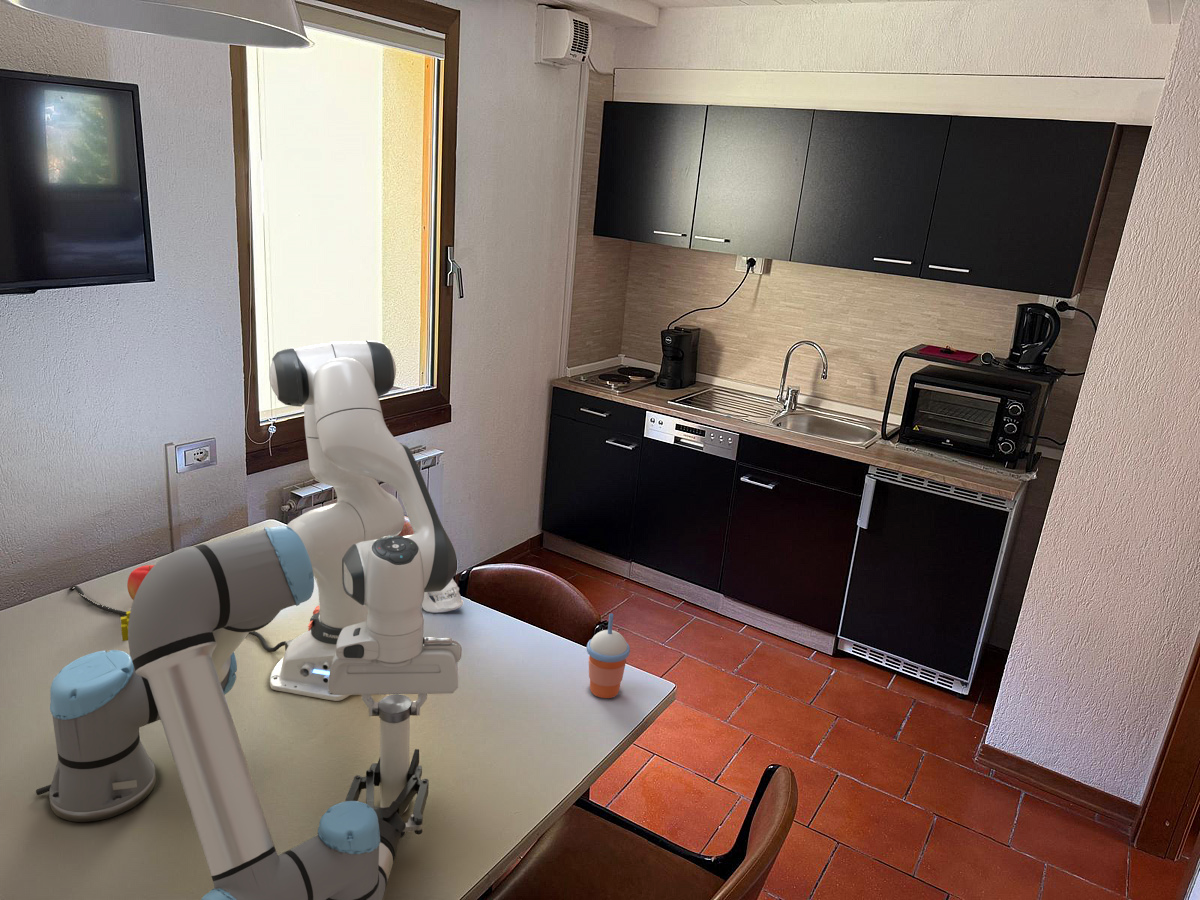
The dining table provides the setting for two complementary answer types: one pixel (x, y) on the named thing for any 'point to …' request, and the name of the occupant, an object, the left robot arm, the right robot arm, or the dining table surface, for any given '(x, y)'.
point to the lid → (394, 708)
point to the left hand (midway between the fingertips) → (401, 755)
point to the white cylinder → (393, 760)
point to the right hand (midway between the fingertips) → (394, 714)
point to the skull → (443, 599)
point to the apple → (137, 579)
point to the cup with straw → (607, 661)
